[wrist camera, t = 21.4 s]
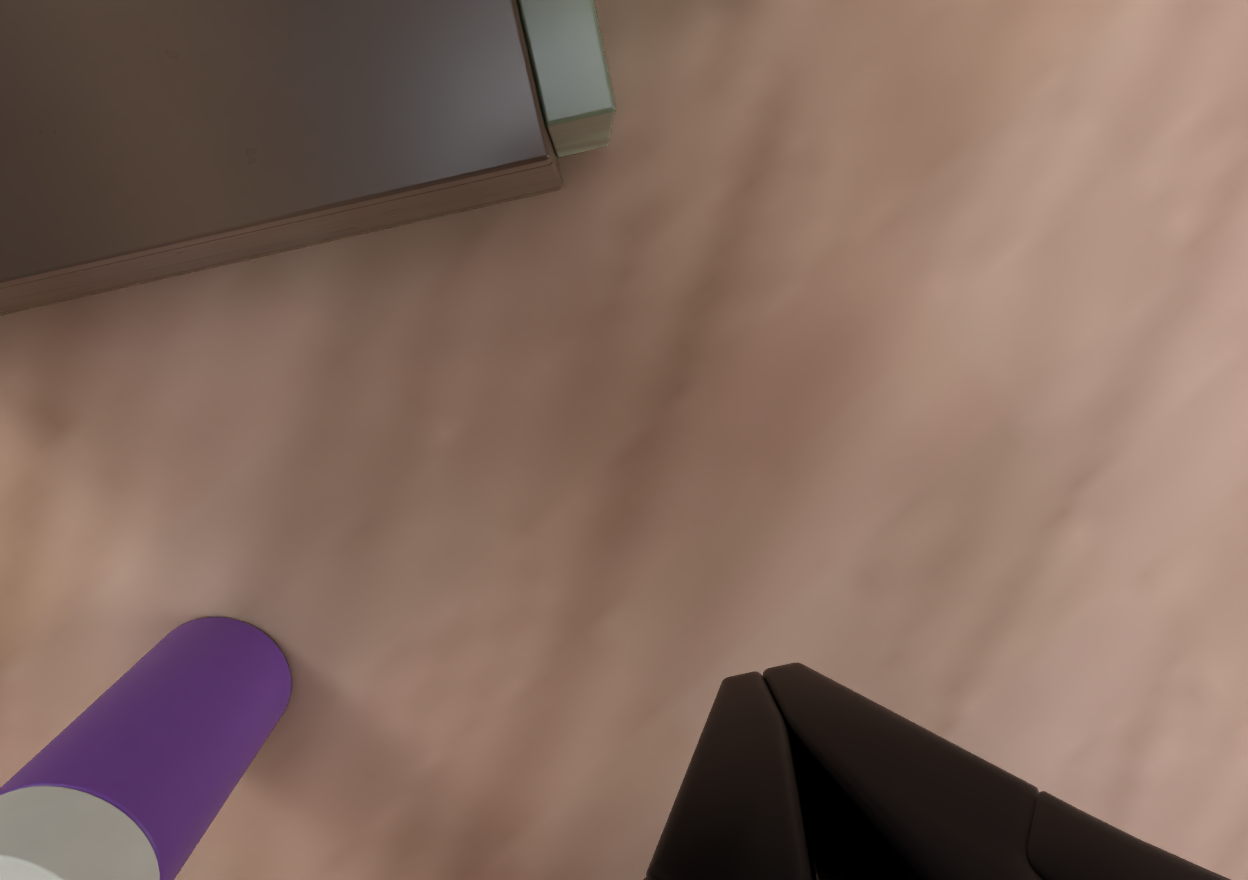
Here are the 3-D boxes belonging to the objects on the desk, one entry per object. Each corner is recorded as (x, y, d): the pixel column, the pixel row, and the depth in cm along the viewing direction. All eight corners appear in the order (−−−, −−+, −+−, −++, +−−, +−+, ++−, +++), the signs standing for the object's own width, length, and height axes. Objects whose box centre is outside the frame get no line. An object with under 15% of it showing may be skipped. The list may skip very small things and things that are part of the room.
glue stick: (321, 680, 22) (154, 950, 13) (229, 764, 22) (11, 1075, 14) (216, 588, 21) (-29, 812, 13) (123, 677, 21) (-173, 948, 13)
